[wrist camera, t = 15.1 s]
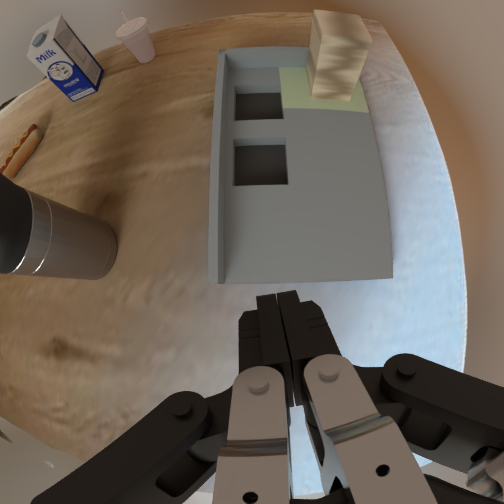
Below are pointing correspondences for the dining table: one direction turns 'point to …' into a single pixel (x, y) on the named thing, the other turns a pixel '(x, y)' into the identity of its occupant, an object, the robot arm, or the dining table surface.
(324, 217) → the trap deck
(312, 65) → the maple block
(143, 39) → the smoothie
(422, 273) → the dining table surface
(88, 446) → the dining table surface
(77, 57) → the milk carton
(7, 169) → the food
